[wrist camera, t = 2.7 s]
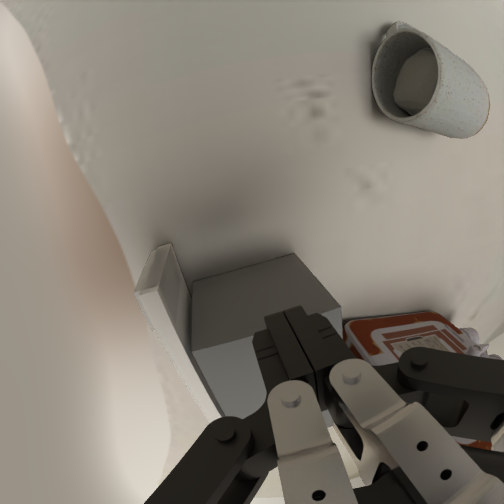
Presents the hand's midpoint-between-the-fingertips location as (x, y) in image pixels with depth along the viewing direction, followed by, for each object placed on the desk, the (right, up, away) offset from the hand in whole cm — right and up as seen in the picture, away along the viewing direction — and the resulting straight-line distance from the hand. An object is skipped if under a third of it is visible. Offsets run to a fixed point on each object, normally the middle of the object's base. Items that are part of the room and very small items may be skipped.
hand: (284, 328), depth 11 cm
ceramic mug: (+12, +18, +7) cm, 23 cm away
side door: (-6, -4, +11) cm, 13 cm away
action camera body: (-1, -4, +13) cm, 13 cm away
